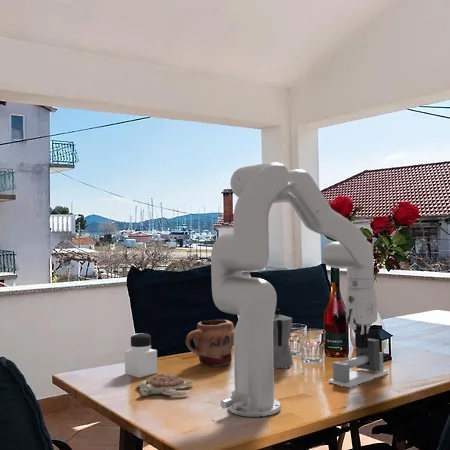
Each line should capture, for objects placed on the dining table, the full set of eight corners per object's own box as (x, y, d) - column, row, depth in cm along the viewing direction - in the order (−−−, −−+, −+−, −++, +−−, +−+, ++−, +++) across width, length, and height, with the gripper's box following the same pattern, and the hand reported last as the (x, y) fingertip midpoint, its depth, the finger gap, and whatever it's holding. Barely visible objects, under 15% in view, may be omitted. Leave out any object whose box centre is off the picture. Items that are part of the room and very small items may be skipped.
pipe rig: (350, 388, 145) (349, 365, 145) (328, 383, 150) (328, 361, 150) (387, 373, 159) (387, 352, 159) (366, 369, 164) (366, 349, 164)
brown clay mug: (201, 374, 162) (200, 328, 162) (175, 367, 171) (175, 323, 171) (247, 362, 176) (246, 319, 176) (221, 356, 185) (220, 315, 185)
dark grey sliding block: (374, 371, 155) (373, 341, 155) (356, 367, 159) (355, 338, 159) (379, 369, 157) (379, 339, 157) (361, 365, 161) (361, 337, 162)
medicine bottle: (157, 373, 164) (157, 333, 164) (139, 378, 159) (138, 337, 159) (143, 369, 169) (142, 331, 169) (124, 374, 164) (124, 334, 164)
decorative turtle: (118, 393, 146) (118, 374, 146) (164, 379, 158) (163, 362, 158) (163, 407, 134) (163, 386, 134) (209, 391, 146) (208, 372, 146)
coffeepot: (262, 360, 178) (261, 306, 178) (290, 360, 178) (289, 305, 178) (265, 372, 162) (264, 313, 163) (296, 372, 162) (295, 312, 162)
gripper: (357, 287, 148) (358, 353, 148) (385, 282, 159) (386, 345, 159) (334, 285, 154) (335, 349, 154) (362, 281, 164) (364, 341, 164)
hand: (361, 347), depth 156 cm, fingers closed
